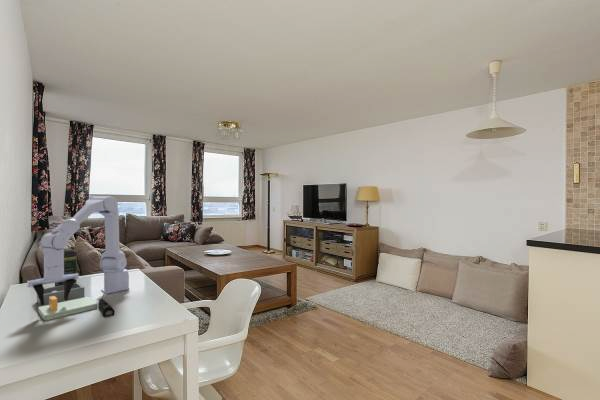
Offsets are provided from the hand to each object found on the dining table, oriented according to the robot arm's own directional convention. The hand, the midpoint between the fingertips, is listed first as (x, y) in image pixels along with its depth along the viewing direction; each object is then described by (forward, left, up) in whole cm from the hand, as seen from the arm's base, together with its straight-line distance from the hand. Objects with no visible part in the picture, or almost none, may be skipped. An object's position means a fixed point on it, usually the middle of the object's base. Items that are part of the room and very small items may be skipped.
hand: (54, 302), depth 111 cm
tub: (-4, -15, -4) cm, 16 cm away
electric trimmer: (-13, +11, -5) cm, 18 cm away
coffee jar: (-9, -34, -4) cm, 36 cm away
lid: (-4, 0, -4) cm, 6 cm away
